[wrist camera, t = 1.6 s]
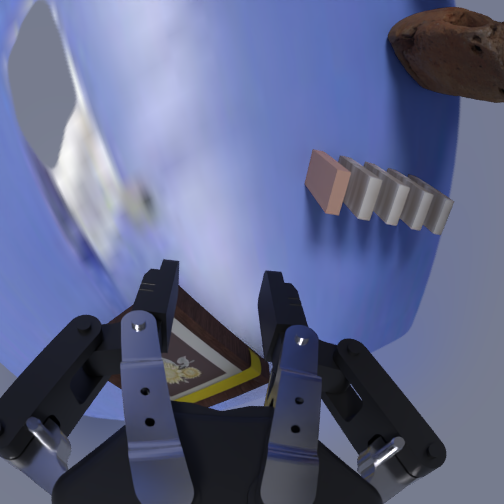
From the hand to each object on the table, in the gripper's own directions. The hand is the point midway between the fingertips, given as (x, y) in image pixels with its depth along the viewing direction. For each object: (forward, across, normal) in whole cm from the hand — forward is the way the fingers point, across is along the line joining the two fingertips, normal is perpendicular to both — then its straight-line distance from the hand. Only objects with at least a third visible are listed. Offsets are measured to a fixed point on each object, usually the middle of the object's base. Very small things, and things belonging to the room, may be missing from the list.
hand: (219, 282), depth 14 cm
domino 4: (+27, -28, 0) cm, 39 cm away
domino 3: (+27, -24, 0) cm, 36 cm away
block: (+27, -23, -21) cm, 42 cm away
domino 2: (+27, -16, 0) cm, 32 cm away
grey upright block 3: (+27, -20, 0) cm, 34 cm away
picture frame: (+28, +6, +41) cm, 50 cm away
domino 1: (+27, -12, 0) cm, 30 cm away
